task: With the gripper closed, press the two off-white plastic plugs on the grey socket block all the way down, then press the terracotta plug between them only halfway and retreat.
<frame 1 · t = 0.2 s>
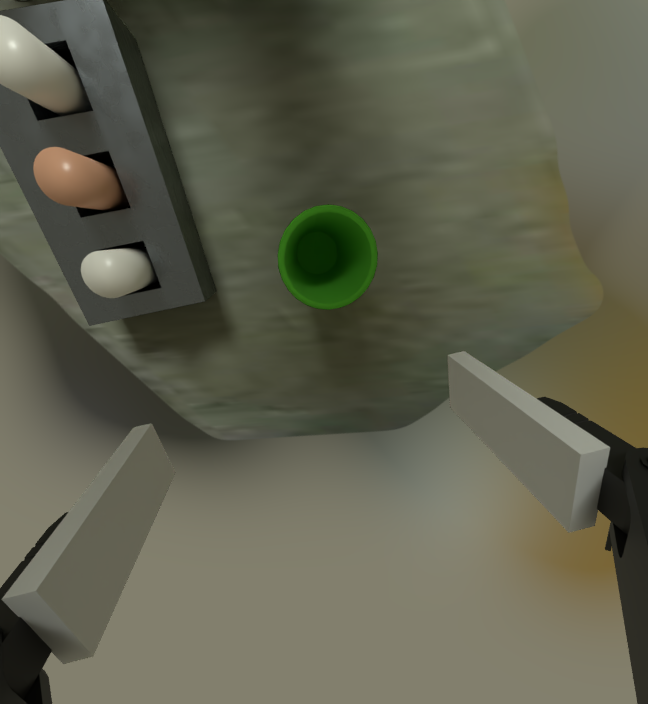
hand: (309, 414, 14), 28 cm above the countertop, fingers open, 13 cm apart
cup: (316, 252, 38), on the countertop
plug terracotta: (89, 184, 27), point 7 cm above the countertop, slide at 0.0 cm
grey socket block: (125, 193, 33), on the countertop
plug white b: (126, 270, 30), point 7 cm above the countertop, slide at 0.0 cm
plug white a: (44, 77, 24), point 7 cm above the countertop, slide at 0.0 cm
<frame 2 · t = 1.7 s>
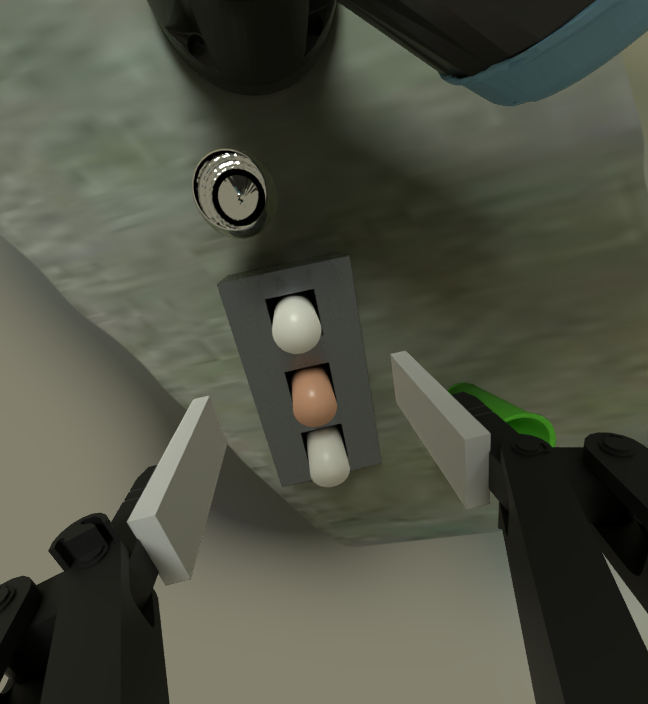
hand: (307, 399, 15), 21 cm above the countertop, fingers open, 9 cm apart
wineglass: (249, 206, 31), on the countertop
cup: (458, 398, 42), on the countertop
plug terracotta: (311, 390, 31), point 7 cm above the countertop, slide at 0.0 cm
grey socket block: (307, 364, 38), on the countertop
plug white b: (325, 448, 34), point 7 cm above the countertop, slide at 0.0 cm
plug white a: (295, 319, 29), point 7 cm above the countertop, slide at 0.0 cm
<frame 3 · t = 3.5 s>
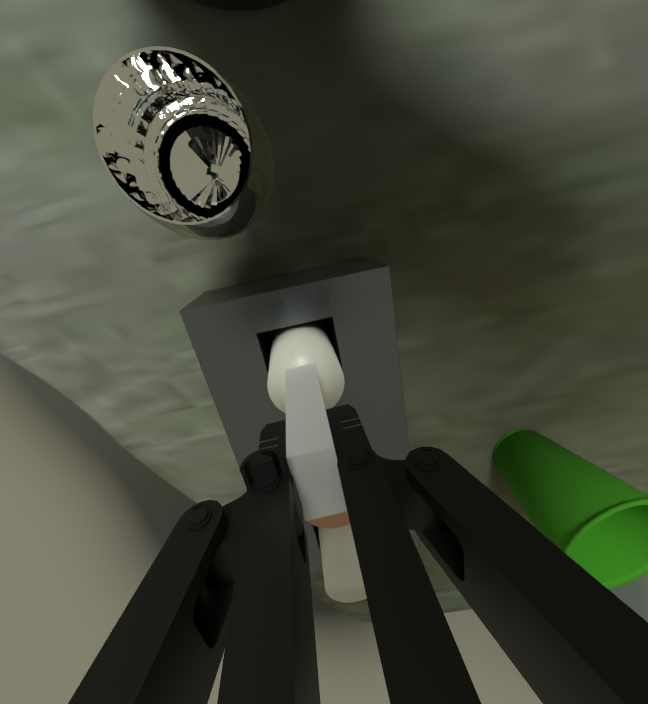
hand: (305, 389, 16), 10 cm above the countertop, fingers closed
wineglass: (234, 190, 21), on the countertop
cup: (514, 447, 32), on the countertop
plug terracotta: (327, 461, 21), point 7 cm above the countertop, slide at 0.0 cm
grey socket block: (317, 409, 27), on the countertop
plug white b: (344, 536, 24), point 7 cm above the countertop, slide at 0.0 cm
plug white a: (302, 358, 19), point 6 cm above the countertop, slide at 0.9 cm, touching gripper
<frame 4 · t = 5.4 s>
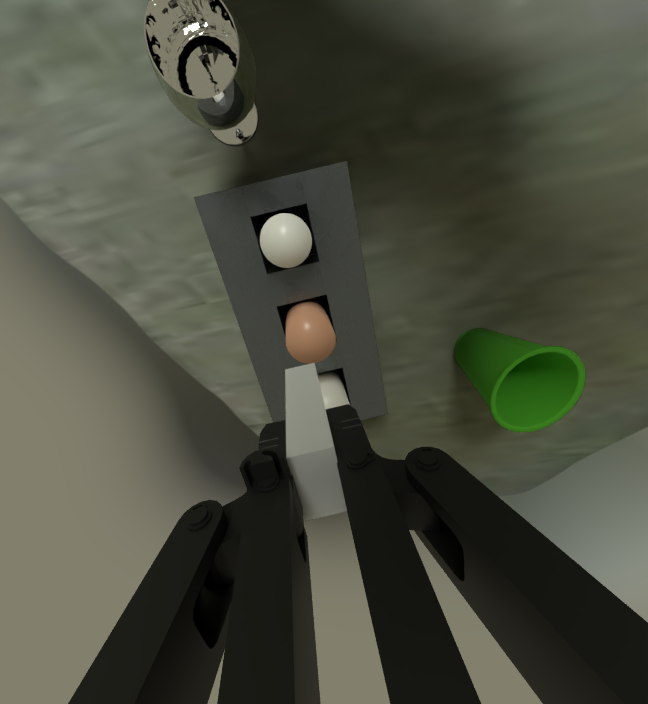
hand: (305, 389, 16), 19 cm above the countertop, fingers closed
wineglass: (231, 115, 27), on the countertop
cup: (471, 346, 39), on the countertop
plug terracotta: (308, 326, 28), point 7 cm above the countertop, slide at 0.0 cm
grey socket block: (304, 307, 34), on the countertop
plug white b: (325, 396, 31), point 7 cm above the countertop, slide at 0.0 cm
plug white a: (286, 238, 27), point 4 cm above the countertop, slide at 2.6 cm
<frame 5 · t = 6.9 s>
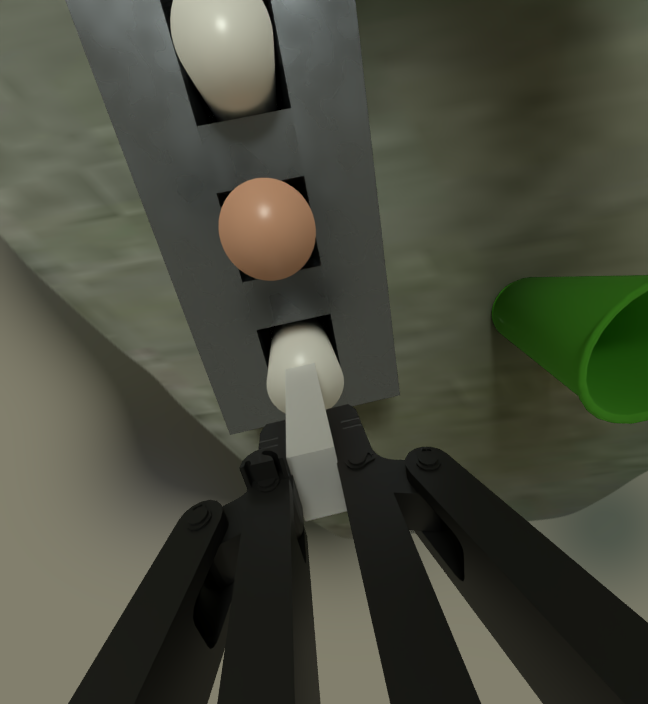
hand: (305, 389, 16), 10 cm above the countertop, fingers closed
cup: (516, 307, 27), on the countertop
plug terracotta: (271, 231, 16), point 7 cm above the countertop, slide at 0.0 cm
grey socket block: (274, 231, 22), on the countertop
plug white b: (302, 358, 19), point 6 cm above the countertop, slide at 0.3 cm, touching gripper
plug white a: (235, 75, 16), point 4 cm above the countertop, slide at 2.6 cm
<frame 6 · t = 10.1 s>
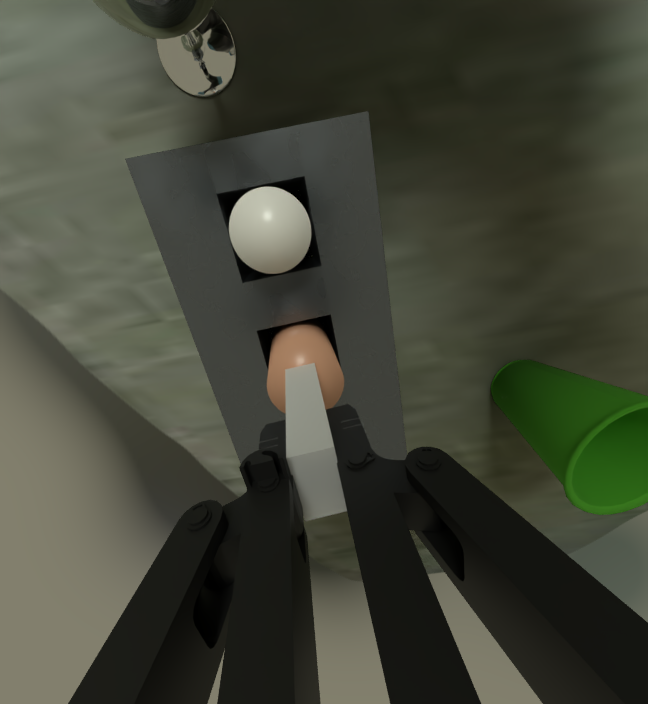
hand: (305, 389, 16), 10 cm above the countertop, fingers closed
wineglass: (198, 52, 18), on the countertop
cup: (513, 382, 30), on the countertop
plug terracotta: (302, 359, 19), point 6 cm above the countertop, slide at 0.3 cm, touching gripper
grey socket block: (298, 328, 25), on the countertop
plug white a: (273, 231, 19), point 4 cm above the countertop, slide at 2.6 cm
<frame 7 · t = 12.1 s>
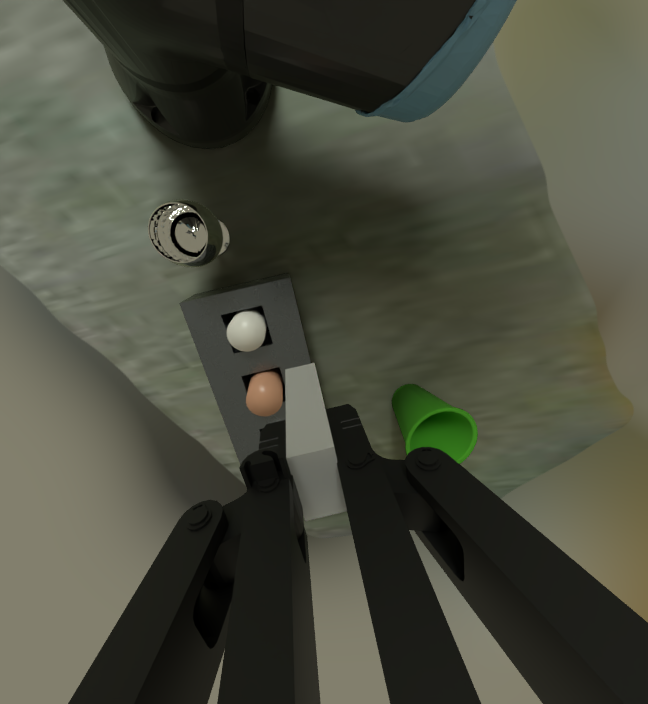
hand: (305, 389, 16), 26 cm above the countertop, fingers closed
wineglass: (210, 236, 37), on the countertop
cup: (407, 398, 47), on the countertop
plug terracotta: (265, 386, 38), point 6 cm above the countertop, slide at 1.2 cm
grey socket block: (267, 369, 43), on the countertop
plug white a: (249, 325, 36), point 4 cm above the countertop, slide at 2.6 cm
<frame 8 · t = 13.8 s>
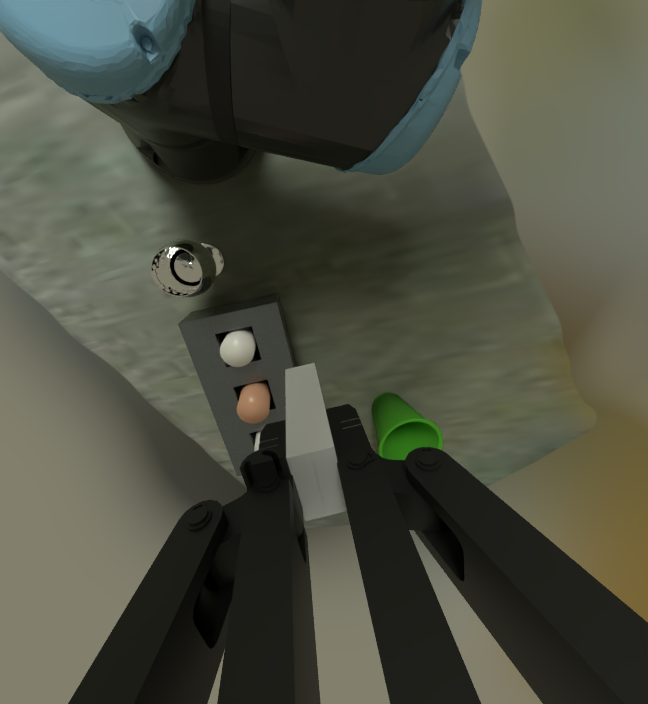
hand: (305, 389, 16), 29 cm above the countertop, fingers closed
wineglass: (206, 261, 41), on the countertop
cup: (386, 404, 52), on the countertop
plug terracotta: (255, 396, 42), point 6 cm above the countertop, slide at 1.2 cm
grey socket block: (258, 378, 47), on the countertop
plug white b: (269, 434, 46), point 4 cm above the countertop, slide at 2.6 cm
plug white a: (240, 342, 41), point 4 cm above the countertop, slide at 2.6 cm
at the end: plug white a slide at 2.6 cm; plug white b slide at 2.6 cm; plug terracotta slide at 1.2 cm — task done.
